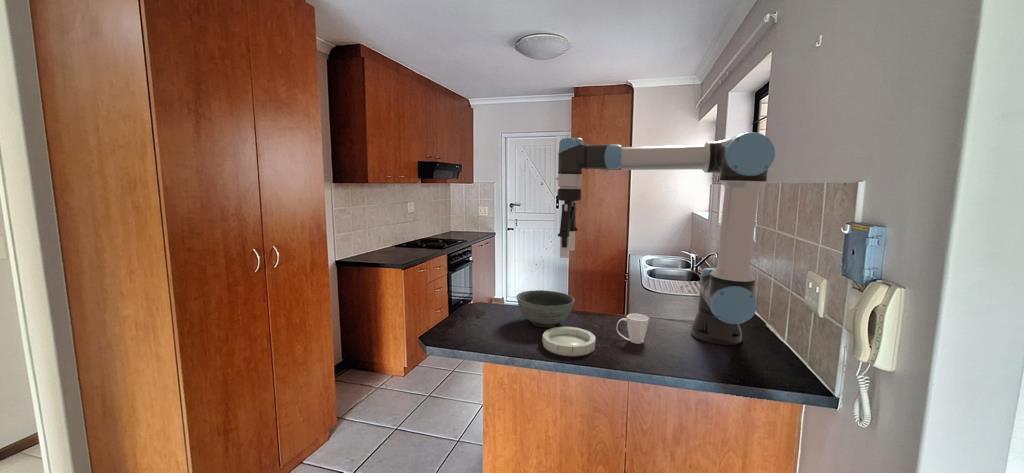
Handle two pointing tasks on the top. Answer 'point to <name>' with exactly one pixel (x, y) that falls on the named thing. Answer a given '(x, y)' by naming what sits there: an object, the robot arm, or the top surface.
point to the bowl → (545, 306)
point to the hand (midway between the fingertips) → (567, 253)
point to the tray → (569, 341)
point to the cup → (635, 327)
